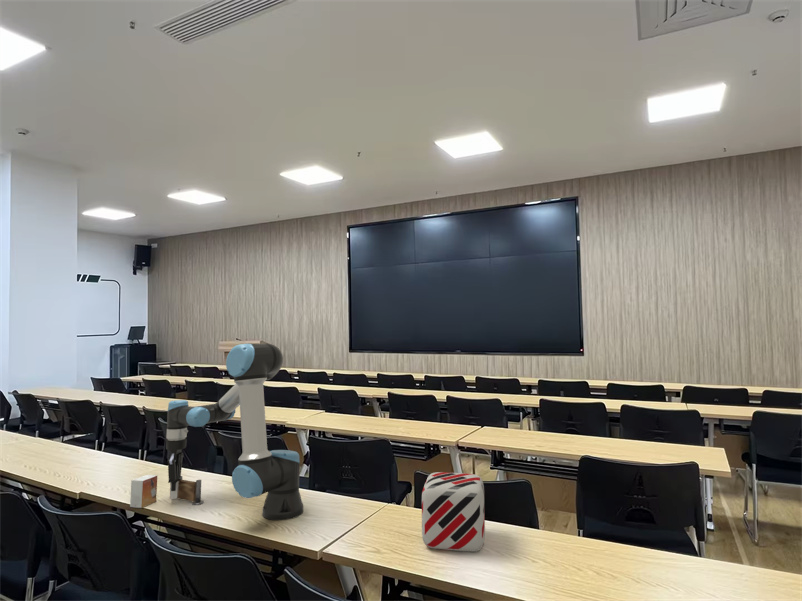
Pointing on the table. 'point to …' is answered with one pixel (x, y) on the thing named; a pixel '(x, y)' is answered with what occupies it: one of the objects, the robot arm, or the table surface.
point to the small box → (143, 491)
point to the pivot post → (198, 494)
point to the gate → (187, 490)
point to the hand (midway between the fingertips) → (173, 498)
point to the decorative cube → (453, 511)
